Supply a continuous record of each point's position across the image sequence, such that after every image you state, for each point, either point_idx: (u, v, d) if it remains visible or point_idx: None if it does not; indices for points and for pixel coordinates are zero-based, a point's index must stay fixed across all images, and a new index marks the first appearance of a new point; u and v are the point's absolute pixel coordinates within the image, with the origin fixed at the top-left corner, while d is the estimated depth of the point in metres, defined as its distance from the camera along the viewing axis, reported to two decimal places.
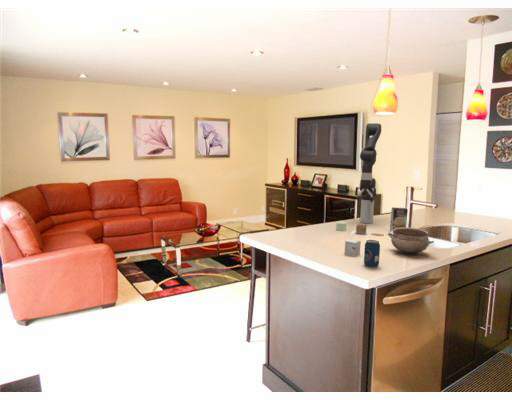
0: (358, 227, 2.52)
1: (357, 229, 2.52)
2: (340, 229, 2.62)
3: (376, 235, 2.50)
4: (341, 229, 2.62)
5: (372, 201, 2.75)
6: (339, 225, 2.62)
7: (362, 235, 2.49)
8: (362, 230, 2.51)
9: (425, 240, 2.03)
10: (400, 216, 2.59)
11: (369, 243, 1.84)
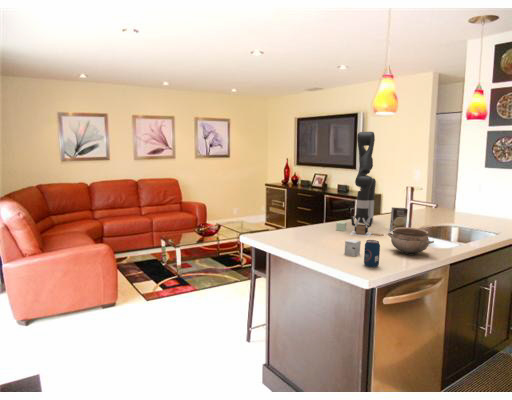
0: (358, 227, 2.52)
1: (357, 229, 2.52)
2: (340, 229, 2.62)
3: (376, 235, 2.50)
4: (341, 229, 2.62)
5: None
6: (339, 225, 2.62)
7: (362, 235, 2.49)
8: (362, 230, 2.51)
9: (425, 240, 2.03)
10: (400, 216, 2.59)
11: (369, 243, 1.84)
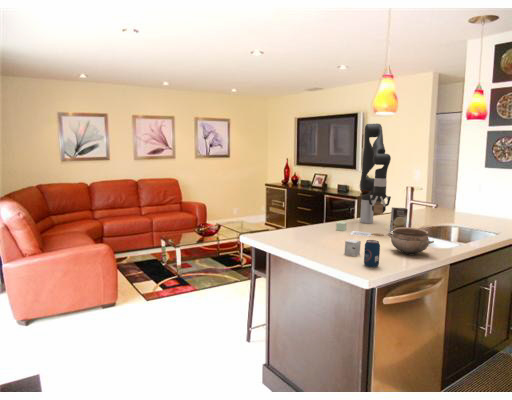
0: (376, 206, 2.48)
1: (375, 208, 2.48)
2: (340, 229, 2.62)
3: (376, 235, 2.50)
4: (341, 229, 2.62)
5: (384, 211, 2.48)
6: (339, 225, 2.62)
7: (362, 235, 2.49)
8: (379, 209, 2.47)
9: (425, 240, 2.03)
10: (400, 216, 2.59)
11: (369, 243, 1.84)
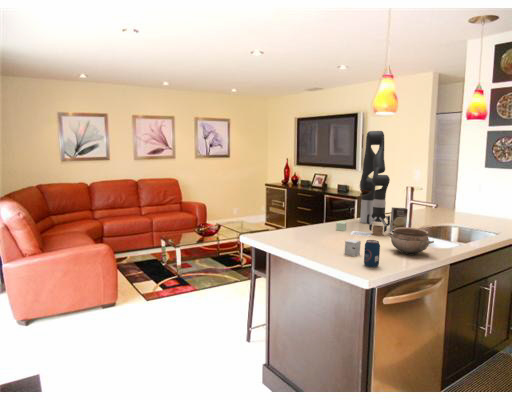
0: (375, 228, 2.50)
1: (374, 230, 2.50)
2: (340, 229, 2.62)
3: None
4: (341, 229, 2.62)
5: None
6: (339, 225, 2.62)
7: (362, 235, 2.49)
8: (378, 231, 2.49)
9: (425, 240, 2.03)
10: (400, 216, 2.59)
11: (369, 243, 1.84)
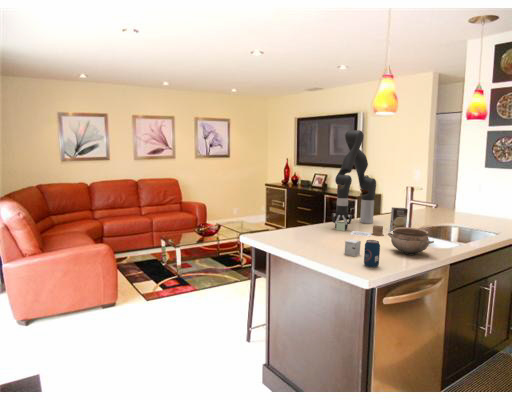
0: (375, 228, 2.50)
1: (374, 230, 2.50)
2: (340, 229, 2.62)
3: None
4: (341, 229, 2.62)
5: (346, 228, 2.62)
6: (339, 225, 2.62)
7: (362, 235, 2.49)
8: (378, 231, 2.49)
9: (425, 240, 2.03)
10: (400, 216, 2.59)
11: (369, 243, 1.84)
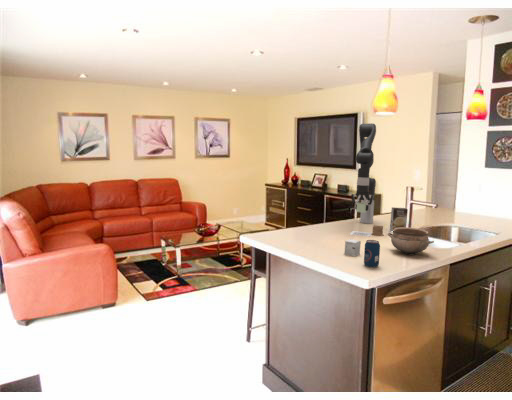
0: (375, 228, 2.50)
1: (374, 230, 2.50)
2: (361, 210, 2.50)
3: None
4: (362, 210, 2.50)
5: (367, 209, 2.50)
6: (359, 206, 2.50)
7: (362, 235, 2.49)
8: (378, 231, 2.49)
9: (425, 240, 2.03)
10: (400, 216, 2.59)
11: (369, 243, 1.84)
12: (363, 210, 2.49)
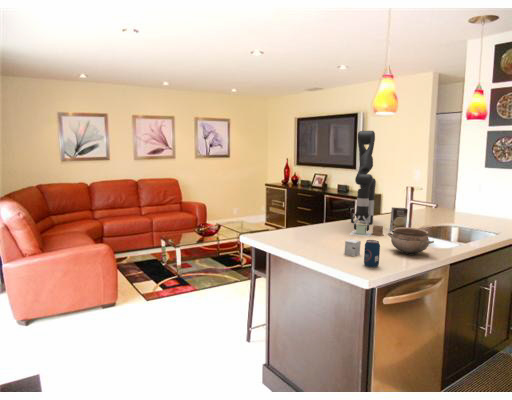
0: (375, 228, 2.50)
1: (374, 230, 2.50)
2: (360, 232, 2.52)
3: None
4: (361, 232, 2.52)
5: (368, 229, 2.52)
6: (359, 228, 2.52)
7: (362, 235, 2.49)
8: (378, 231, 2.49)
9: (425, 240, 2.03)
10: (400, 216, 2.59)
11: (369, 243, 1.84)
12: (363, 232, 2.51)
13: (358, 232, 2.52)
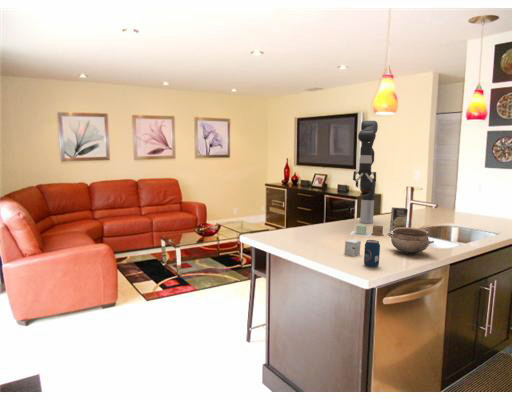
0: (375, 228, 2.50)
1: (374, 230, 2.50)
2: (360, 232, 2.52)
3: None
4: (361, 232, 2.52)
5: (372, 186, 2.49)
6: (359, 228, 2.52)
7: (362, 235, 2.49)
8: (378, 231, 2.49)
9: (425, 240, 2.03)
10: (400, 216, 2.59)
11: (369, 243, 1.84)
12: (363, 232, 2.51)
13: (358, 232, 2.52)
